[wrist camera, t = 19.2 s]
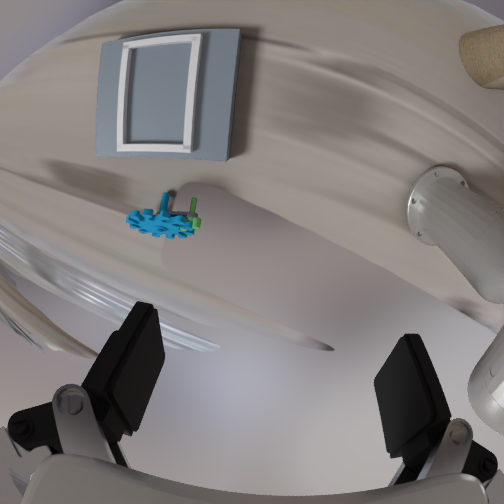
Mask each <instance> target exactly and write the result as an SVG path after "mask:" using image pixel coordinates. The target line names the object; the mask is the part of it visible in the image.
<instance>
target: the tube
mask: <svg viewBox="0 0 504 504" xmlns="http://www.w3.org/2000/svg"><path fill="white" fill-rule="evenodd" d="M459 52H460V56H461V60H462V62H463V65H464V67H465V69H466V70H467V72H468V74H469V75H470V76H471V78H472V79H473V80H474V81H475V82H476V83H477V84H479V85H480V86H482V87H484V88H490V89H504V25H499V26H494V27H489V28H484V29H480V30H476V31H472V32H468V33H465V34H464V35H462V37H461V39H460V42H459Z"/></svg>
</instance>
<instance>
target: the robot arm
mask: <svg viewBox="0 0 504 504" xmlns="http://www.w3.org/2000/svg"><path fill="white" fill-rule="evenodd" d="M412 199H413V200H412ZM406 219H407V223H408V226H409V229H410V230H411V232H412V233H413V235H414V236H415V237H416V238H417V239H418V240H420V241H421V242H422V243H425V244H427V245H432V246H434V245H437V246H438V247H439V248H440V249H441V250H442V251H443V252H444V254H445V255H446V256H447V257H448V258H449V259H450V260H451V261H452V263H453V264H454V265H455V266H456V267H457V268H458V270H459V271H460V272H461V273H462V274H463V275H464V277H465V278H466V279H467V280H468V282H469V283H470V284H471V285H472V287H473V288H474V289H475V290H476V291H477V293H478V294H479V295H480V296H481V297H483V298H484V299H485V300H487V301H489V302H492V303H497V304H504V211H503V210H502V209H500V208H499V207H497V206H496V205H494V204H493V203H491V202H489V201H488V200H486V199H485V198H483V197H481V196H480V195H478V194H476V193H475V192H473V191H471V190H470V189H469V186H468V184H467V182H466V180H465V179H464V177H463V176H462V175H461V174H460V173H459V172H457V171H455V170H453V169H451V168H449V167H444V166H439V167H433V168H431V169H428V170H427V171H425V172H424V173H422V174H421V175H420V176H419V177H418V178H417V180H416V181H415V182H414V184H413V185H412V187H411V189H410V191H409V194H408V197H407V201H406ZM164 360H165V352H164V347H163V341H162V335H161V330H160V323H159V317H158V311H157V309H154V307H153V305H152V304H149V303H144V302H139V301H138V302H136V303H135V305H134V307H133V308H132V310H131V311H130V313H129V314H128V316H127V318H126V319H125V321H124V322H123V324H122V326H121V327H120V329H119V331H118V330H116V331H114V332H113V333H112V334H111V335H110V337H109V339H108V340H107V342H106V344H105V345H104V347H103V349H102V350H101V352H100V354H99V355H98V357H97V359H96V360H95V362H94V364H93V365H92V367H91V369H90V371H89V372H88V375H87V376H86V378H85V380H84V382H83V383H82V385H81V386H79V385H75V384H66V385H64V386H61V387H60V388H59V389H58V390H57V391H56V392H55V394H54V396H53V399H52V402H49V403H45V404H42V405H39V406H35V407H32V408H28V409H25V410H21V411H18V412H16V413H14V414H13V415H12V416H11V418H10V419H9V422H8V427H7V428H5V427H2V428H0V504H504V474H503V473H502V471H501V470H500V469H499V470H497V468H498V462H497V458H496V457H495V455H494V454H493V453H492V452H490V451H489V450H487V449H486V448H484V447H483V446H481V445H479V444H478V443H476V442H475V441H473V440H472V439H473V431H472V428H471V426H470V425H469V423H468V422H467V421H465V420H463V419H461V418H456V419H453V420H452V421H451V420H450V418H451V413H450V410H449V407H448V404H447V401H446V398H445V395H444V392H443V390H442V387H441V384H440V382H439V379H438V377H437V374H436V372H435V369H434V367H433V364H432V362H431V359H430V357H429V355H428V352H427V350H426V348H425V345H424V343H423V341H422V339H421V337H420V335H419V334H405V335H404V336H403V337H401V338H400V339H399V340H398V342H397V344H396V346H395V347H394V349H393V350H392V352H391V354H390V355H389V357H388V358H387V360H386V362H385V363H384V365H383V366H382V368H381V369H380V371H379V372H378V374H377V375H376V377H375V379H374V387H375V392H376V396H377V401H378V405H379V411H380V416H381V421H382V427H383V432H384V438H385V444H386V450H387V452H388V453H390V457H391V458H397V457H402V458H403V462H402V464H401V466H400V467H399V469H398V471H397V472H396V474H395V476H394V477H393V479H392V481H391V482H390V483H389V485H388V487H385V488H379V489H374V490H368V491H360V492H353V493H344V494H333V495H317V496H272V495H256V494H245V493H236V492H228V491H221V490H215V489H208V488H203V487H198V486H193V485H188V484H184V483H180V482H176V481H171V480H168V479H164V478H160V477H156V476H153V475H149V474H146V473H143V472H140V471H136V470H133V469H131V467H130V465H129V463H128V460H127V458H126V456H125V454H124V452H123V449H122V447H121V445H120V442H119V441H120V440H121V438H122V435H123V434H125V435H128V436H132V433H133V431H135V432H136V431H137V430H138V429H139V426H140V423H141V421H142V418H143V415H144V413H145V410H146V407H147V405H148V402H149V399H150V397H151V394H152V392H153V389H154V386H155V384H156V381H157V379H158V376H159V374H160V371H161V369H162V366H163V364H164ZM468 397H469V401H470V403H471V406H472V408H473V410H474V411H475V413H476V414H477V415H478V417H479V418H480V419H481V420H482V421H483V422H484V423H485V424H486V425H488V426H489V427H490V428H492V429H494V430H495V431H496V432H498V433H500V434H501V435H503V436H504V325H503V327H502V328H501V330H500V331H499V333H498V334H497V336H496V337H495V339H494V341H493V342H492V343H491V345H490V346H489V347H488V349H487V350H486V352H485V353H484V355H483V356H482V357H481V359H480V360H479V362H478V363H477V364H476V366H475V368H474V369H473V371H472V373H471V375H470V378H469V382H468ZM33 472H34V474H33ZM32 474H33V475H32ZM31 475H32V478H31V480H30V476H31Z"/></svg>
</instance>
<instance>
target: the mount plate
mask: <svg viewBox="0 0 504 504" xmlns="http://www.w3.org/2000/svg"><path fill="white" fill-rule="evenodd" d="M241 40H242V32H241V30H240V29H195V30H180V31H170V32H161V33H154V34H147V35H140V36H135V37H129V38H124V39H119V40H115V41H110V42H106V43H102V49H101V57H100V66H99V76H98V89H97V108H96V155H97V157H156V158H181V159H198V160H211V161H223V162H226V161H228V160H229V159H230V147H231V135H232V124H233V114H234V104H235V94H236V84H237V75H238V66H239V57H240V49H241Z"/></svg>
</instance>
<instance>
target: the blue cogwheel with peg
mask: <svg viewBox="0 0 504 504" xmlns="http://www.w3.org/2000/svg"><path fill="white" fill-rule="evenodd" d="M169 195H170V194H169V193H163V196H162V201H161V205H160V210H159V211H158V212H157V215H153V210H152V209H144V210H143V214H142V215H140V212H139V211H136V210H135V211H131V213H130V215H128V216H127V219H126V222H127V223H130V228H133V229H139V232H140V233H143V234H146V233H152V236H155V237H160V235H162V234H166V238H170V239H174V236H175V234H177V235H178V237H179V238H187V235H193V234H194V230H195V229H200V224H201V219H200V218H197V216H198V214H196V213H195V208H196V201H197V198H192V201H191V207H190V212H173V211H167V205H168V200H169ZM186 219H187V220H186Z"/></svg>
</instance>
